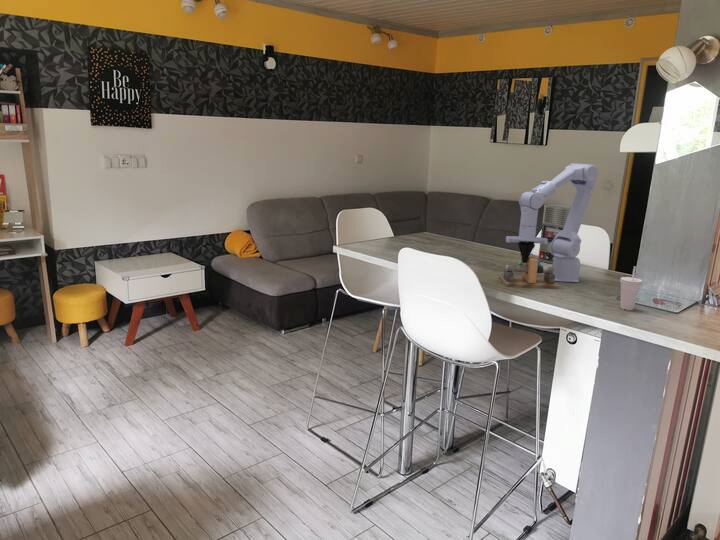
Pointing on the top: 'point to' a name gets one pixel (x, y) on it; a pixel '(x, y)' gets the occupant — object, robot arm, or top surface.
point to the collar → (531, 269)
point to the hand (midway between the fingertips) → (524, 262)
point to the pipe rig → (521, 282)
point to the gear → (535, 257)
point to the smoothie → (629, 291)
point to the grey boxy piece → (551, 229)
